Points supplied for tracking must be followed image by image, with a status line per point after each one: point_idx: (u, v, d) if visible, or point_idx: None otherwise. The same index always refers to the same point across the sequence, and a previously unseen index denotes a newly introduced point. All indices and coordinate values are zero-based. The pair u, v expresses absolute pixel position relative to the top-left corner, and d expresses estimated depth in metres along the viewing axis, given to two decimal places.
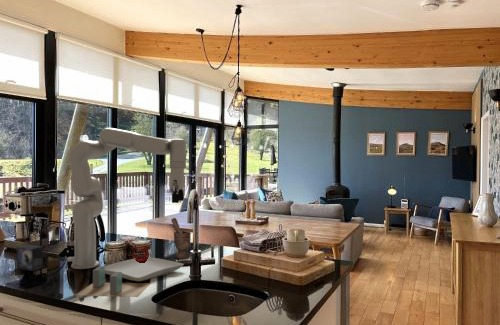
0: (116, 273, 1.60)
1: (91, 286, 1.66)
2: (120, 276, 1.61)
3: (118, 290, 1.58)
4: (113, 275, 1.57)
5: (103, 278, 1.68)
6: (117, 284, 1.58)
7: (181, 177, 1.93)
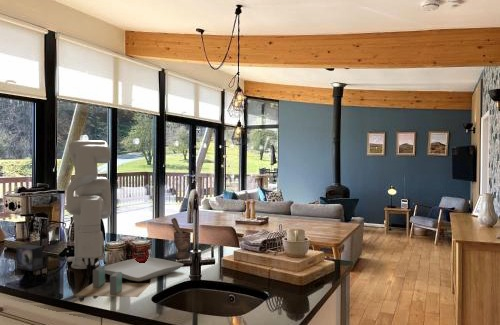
0: (116, 273, 1.60)
1: (91, 286, 1.66)
2: (120, 276, 1.61)
3: (118, 290, 1.58)
4: (113, 275, 1.57)
5: (103, 278, 1.68)
6: (117, 284, 1.58)
7: None
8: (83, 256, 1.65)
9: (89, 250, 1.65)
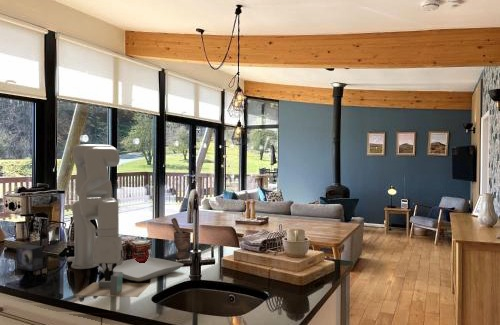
0: (117, 273, 1.60)
1: (91, 286, 1.66)
2: (121, 276, 1.61)
3: (118, 290, 1.58)
4: (114, 275, 1.57)
5: None
6: (118, 284, 1.58)
7: None
8: (101, 261, 1.57)
9: (107, 255, 1.56)
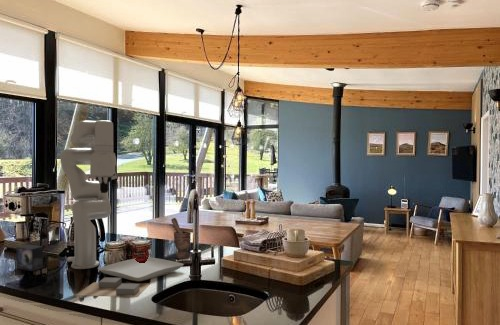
0: (137, 288, 1.60)
1: (91, 286, 1.66)
2: None
3: None
4: (135, 290, 1.57)
5: None
6: None
7: None
8: (97, 174, 1.75)
9: (103, 168, 1.74)
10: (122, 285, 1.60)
